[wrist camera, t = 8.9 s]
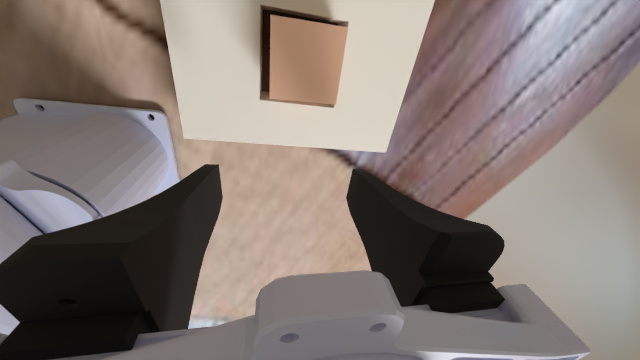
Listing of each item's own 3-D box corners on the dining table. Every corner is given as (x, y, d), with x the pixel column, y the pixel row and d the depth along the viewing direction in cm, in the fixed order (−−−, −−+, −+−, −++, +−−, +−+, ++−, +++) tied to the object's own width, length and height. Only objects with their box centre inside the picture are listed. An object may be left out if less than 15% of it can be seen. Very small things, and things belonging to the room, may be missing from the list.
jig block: (196, 124, 19) (183, 138, 17) (167, -82, 13) (140, -109, 10) (373, 139, 22) (385, 152, 20) (418, -19, 16) (444, -29, 14)
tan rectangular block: (271, 80, 18) (269, 98, 13) (272, 20, 16) (270, 14, 11) (320, 86, 19) (336, 104, 14) (327, 29, 17) (348, 27, 12)
